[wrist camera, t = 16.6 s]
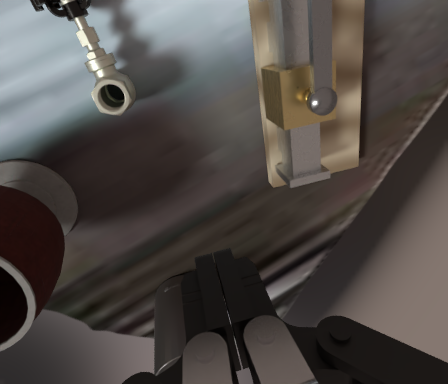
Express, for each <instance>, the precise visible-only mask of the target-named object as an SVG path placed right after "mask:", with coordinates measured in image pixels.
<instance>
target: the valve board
mask: <svg viewBox="0 0 448 384" xmlns="http://www.w3.org/2000/svg"><path fill="white" fill-rule="evenodd" d="M248 2H249V11H250V20H251V28H252V37H253V46H254V55H255V63H256V72H257V81H258V90H259V99H260V107H261V116H262V125H263V134H264V142H265V151H266V160H267V169H268V178H269V183H270V184H271V185H272V186H273V187H278V186H282V185H286V183H285V182H284V181H283V179H282V178H281V177H280V176H279V175H278V174H277V173H276V170H275V165H279V164H283V163H282V152H281V151H280V150H278V141H277V130H276V128H277V127H278V126H277V125H275V124H274V123H273V122H271V121H270V120H268V119H267V118H266V112H265V102H264V93H263V84H262V74H261V68H263V67H267V66H272V65H274V61H273V52H269V44H268V33H267V22H270V15H269V4H268V1H264V2H258V0H248ZM364 7H365V0H332V60H336V94H337V104H336V119H332V120H328V121H323V122H320V151H321V164H322V165H323V166H325V167H326V168H327V169H329V170H330V173H334V172H338V171H342V170H346V169H350V168H354V167H358V161H359V135H360V110H361V84H362V58H363V32H364Z"/></svg>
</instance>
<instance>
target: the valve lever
mask: <svg viewBox="0 0 448 384" xmlns="http://www.w3.org/2000/svg"><path fill="white" fill-rule="evenodd" d="M307 5H308V32H309V59H310V85H311V91H310V93H309V94H308V96H307V100H306V104H307V107H308V109H309V110H310V111H311V112H313V113H315V114H317V115H320V116H324V115H327V114H329V113H331V112H332V111H333V110H334V108H335V107H336V104H337V94H336V92H335V91H334V90H333V89H332V0H307Z"/></svg>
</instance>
